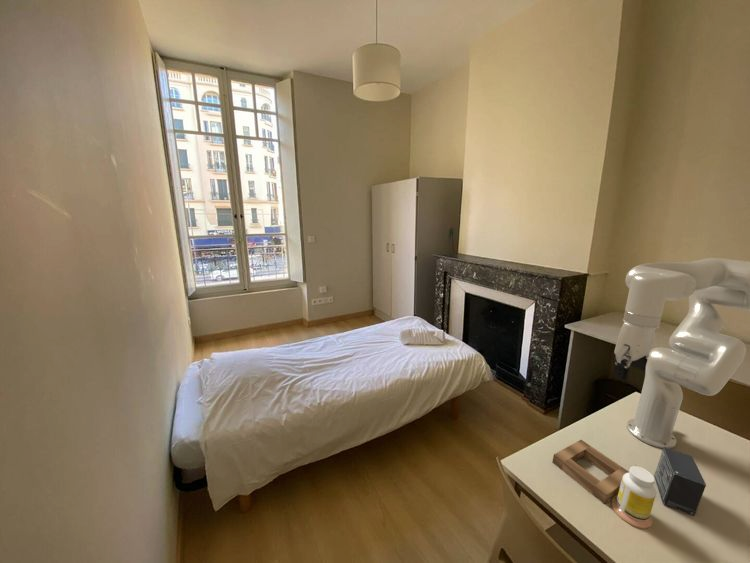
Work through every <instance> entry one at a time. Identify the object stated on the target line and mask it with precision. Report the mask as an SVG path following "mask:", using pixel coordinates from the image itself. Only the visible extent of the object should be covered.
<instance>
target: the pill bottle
mask: <svg viewBox="0 0 750 563" xmlns="http://www.w3.org/2000/svg"><path fill="white" fill-rule="evenodd" d="M628 471H629V473H626V474H624V475H623V478H622V481H621V485H620V489H619V493H618V494H617V496H618V497H617V504H618V506H619V507H620V509H621V510H622V511H623V512H624V513H625V514H626V515H628V516H629V517H631V518H633V519H635V520H639V521H646V520H647V519H648V518H649V516H651V513H652V509H653V506H654V502H655V500H656V497H657V489H656V487H655V486H654V484H655V482H656V480H655V477H654V474H652V473H651V472H650V471H648V470H647V469H645V468H644V467H641V466H637V465H632V466H631V467H630V468H629V470H628Z"/></svg>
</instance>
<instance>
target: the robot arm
mask: <svg viewBox="0 0 750 563" xmlns="http://www.w3.org/2000/svg"><path fill="white" fill-rule="evenodd" d="M625 285H626V286H627V288H628V289H629V290H628V295H627V300H626V304H625V309H624V313H623V318H622V322H623V324H622V326H621V328H620V330H619V334H618V337H617V341H616V345H615V348H614V354H615V362H614V363H615V364H614V370H613V374H612V375H613V377H615V378H617V379H619V380H622V381H624V382H627V381H628V380H629V374H630V370H631V368H630V367H632V368H634V369H637V370H638V371H641V372H645V375H644V380H643V385H642V390H641V392H640V396H639V400H638V404H637V408H636V411H635V416H634V418H631V419H629V420H628V421H627V422H626V428H627V430H628V432H629V433H630V434H631V435H632V436H634V437H635V438H636V439H639V440H640V441H642V442H643V443H645V444H647V445H650V446H652V447H653V446H654V447H656V448H661V449H663V447H666V448H669V449H673V448H675V447H676V445H677V443H678V442H677V441H678V440H677V439H676V437H675V436H674V434H673V431H674V427H675V425H676V422H677V417H678V415H679V412H680V409H681V404H682V401H683V397H684V394H683V390H682V387H684V388H686V389H689V390H690V391H694V392H697V393H698V394H700V395H704V396H710V397H711V396H715V395H717V394H718V393H719V392H721V390H723V389H724V387H725V385H726V384H727V383H728V382H729V380H730V379H731V377H732V376H733V375H734V374H735V372H736V371H737V369H738V368H739V367H740V366H741V364H742V362H743V361H744V359H745V356H746V353H747V347H746V345H745V343H744V342H743V341H742V340H740V339H739V338H737V337H734V336H731V335H727V334H723V333H720V332H721V330H722V329H723V328H724V326H725V319H724V317H723V315H722V314H721V312H720V311H719V310H718V309H717V307H716V306H715V305H717V306H720V307H721V306H723V307H726V308H732V309H737V310H740V311H745V312H750V261H746V260H738V259H730V258H722V257H720V258H719V257H709V258H708V257H707V258H702V259H699V260H693V261H681V262H679V261H677V262H676V261H675V262H674V261H673V262H648V263H642V264H639V265H636V266H633V267H632V268H631V269H629V271H628V272H627V273H626V275H625ZM687 298H688V312H687V314H686V316H685V317H684V318H683V320H682V321H681V322H680V323H679V324H678V326H677V327H676V328H675V330H673V333H672V334H671V335H670V337H669V340H668V344H669V346H670V347H671V348H667V347H662V346H661V347H660V346H659V347H654V348H653V344H654V339H655V335H656V330H657V329H659V328H660V323H661V321H662V317H663V312H664V308H665V305H666V304H665V303H666V301H682V300H685V299H687ZM625 360H627V361H625ZM681 386H682V387H681Z"/></svg>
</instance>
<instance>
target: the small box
mask: <svg viewBox="0 0 750 563" xmlns="http://www.w3.org/2000/svg"><path fill="white" fill-rule="evenodd" d="M661 449H662V450H661V455H660V457H659V461H658V463H657V466H656V469H655V472H654V474H653V477H654V479H655V484H656V485H657V489H658V493H659V496H660V499H661V501H662V504H663V505H664V506H667V507H668V508H671V509H674V510H677V511H679V512H682V513H685V514H687V515H690V516H692V517H695V516H696V513H697V509H698V507H699V504H700V502H701V499H702V497H703V495H704V492H705V489H706V486H707V483H706V482H705V479H704V477H703V475H702V473H701V471H700V469H699V467H698V465H697V463H696V461H695V459H694V456H693V455H691V454H690V455H689V454H688V453H683V452H681V451H677V450H674V449H673V448H666V447H663V448H661Z"/></svg>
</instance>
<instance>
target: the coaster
mask: <svg viewBox="0 0 750 563" xmlns="http://www.w3.org/2000/svg"><path fill="white" fill-rule="evenodd" d="M617 497H618V495H616V496H614V497H613V498H612V499H611V503H610V504H611V505H610V506H611V507H612V510H613V511H614V513H615V514H616V515H617V516H618V517H619V518H620V519H621V520H623V522H625V523H627V524H629V525H630V526H632V527H635V528H637V529H643V530H645V529H650V528H651V526H652V525H653V519H652V516H651V515H650V516H649V518H648V519H647V520H646V521H639V520H635V519H633V518H631V517H629V516H628V515H626V514H625V513H624V512H623V511H622V510H621V509H620V507H619V506H618V504H617Z"/></svg>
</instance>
